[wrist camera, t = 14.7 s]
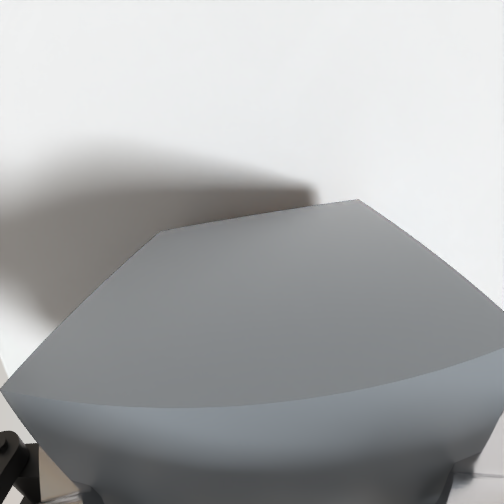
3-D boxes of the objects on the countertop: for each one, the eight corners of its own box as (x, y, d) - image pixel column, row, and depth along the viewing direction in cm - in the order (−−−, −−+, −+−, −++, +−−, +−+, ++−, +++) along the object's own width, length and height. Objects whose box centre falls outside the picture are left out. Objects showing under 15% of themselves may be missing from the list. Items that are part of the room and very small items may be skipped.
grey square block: (160, 231, 12) (-1, 390, 3) (358, 199, 11) (530, 336, 3) (205, 382, 14) (163, 557, 6) (365, 362, 13) (420, 538, 5)
